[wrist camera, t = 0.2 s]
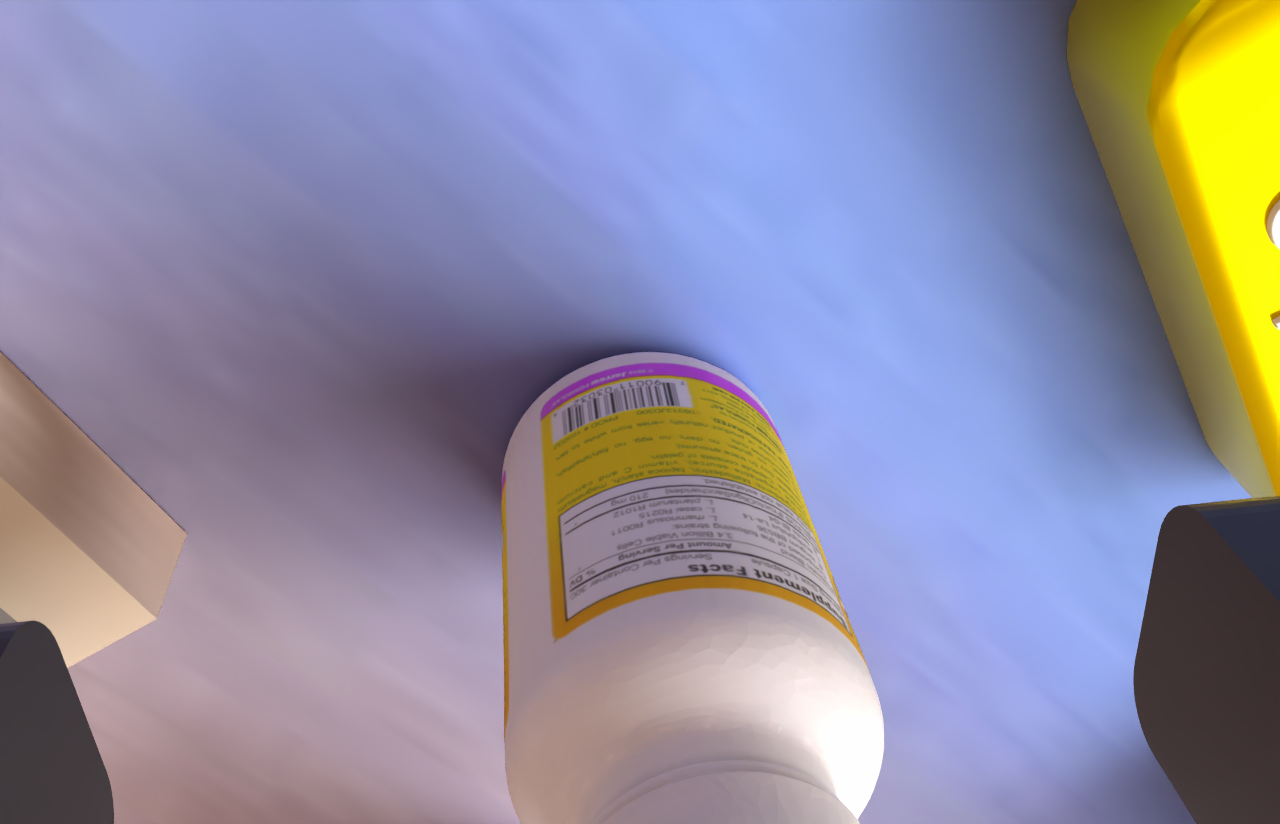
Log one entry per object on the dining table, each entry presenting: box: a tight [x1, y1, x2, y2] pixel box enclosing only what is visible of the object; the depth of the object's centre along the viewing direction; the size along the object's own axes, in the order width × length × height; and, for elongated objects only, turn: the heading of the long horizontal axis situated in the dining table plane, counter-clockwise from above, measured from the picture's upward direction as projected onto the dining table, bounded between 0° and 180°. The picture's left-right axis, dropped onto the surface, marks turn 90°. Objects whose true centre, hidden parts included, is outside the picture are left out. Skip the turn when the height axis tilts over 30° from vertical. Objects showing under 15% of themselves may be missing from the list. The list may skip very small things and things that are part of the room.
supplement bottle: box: [501, 352, 884, 824], centre depth 24 cm, size 7×7×13 cm
